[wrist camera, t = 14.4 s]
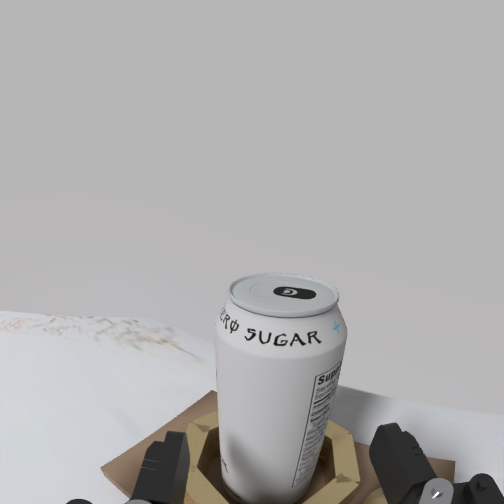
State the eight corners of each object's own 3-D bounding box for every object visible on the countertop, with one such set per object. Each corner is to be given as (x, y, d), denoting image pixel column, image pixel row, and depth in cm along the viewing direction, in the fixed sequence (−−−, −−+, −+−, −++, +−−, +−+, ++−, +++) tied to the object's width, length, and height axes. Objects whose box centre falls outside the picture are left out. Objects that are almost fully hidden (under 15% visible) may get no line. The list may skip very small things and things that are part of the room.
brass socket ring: (395, 428, 21) (407, 400, 20) (428, 539, 9) (453, 516, 8) (204, 423, 23) (201, 393, 22) (160, 539, 11) (148, 519, 10)
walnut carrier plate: (449, 469, 16) (455, 461, 15) (411, 611, 4) (420, 608, 4) (212, 398, 28) (212, 390, 27) (104, 475, 16) (100, 467, 16)
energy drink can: (241, 446, 20) (245, 264, 17) (316, 463, 18) (355, 277, 15) (208, 499, 15) (187, 301, 11) (295, 524, 13) (348, 329, 9)
